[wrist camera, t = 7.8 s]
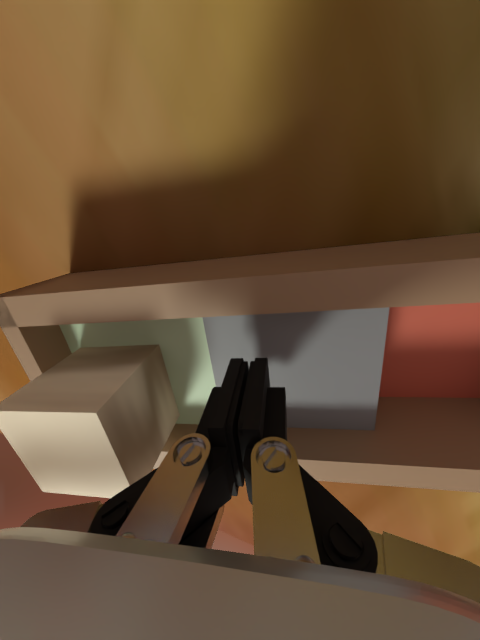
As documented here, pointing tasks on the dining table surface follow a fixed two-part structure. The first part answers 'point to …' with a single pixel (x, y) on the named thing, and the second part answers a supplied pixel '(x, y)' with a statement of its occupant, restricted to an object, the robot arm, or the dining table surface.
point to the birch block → (93, 420)
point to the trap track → (299, 346)
